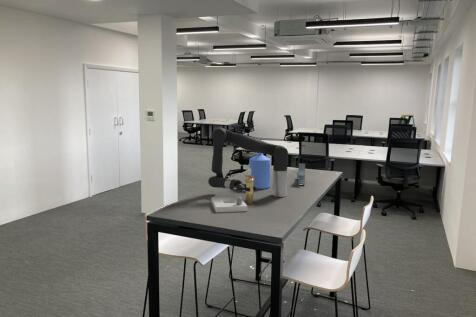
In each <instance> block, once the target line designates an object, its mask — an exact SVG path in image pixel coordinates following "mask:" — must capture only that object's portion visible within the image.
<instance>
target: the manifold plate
mask: <svg viewBox="0 0 476 317" xmlns="http://www.w3.org/2000/svg"><path fill="white" fill-rule="evenodd" d="M211 205H212V207H213V209H214V211H215V212H216V213H231V212H232V213H235V212H248V204H247V203H246V201H244V200H243V197H241V196H229V197H228V196H227V197H225V196H223V197H222V196H221V197H211Z"/></svg>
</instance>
